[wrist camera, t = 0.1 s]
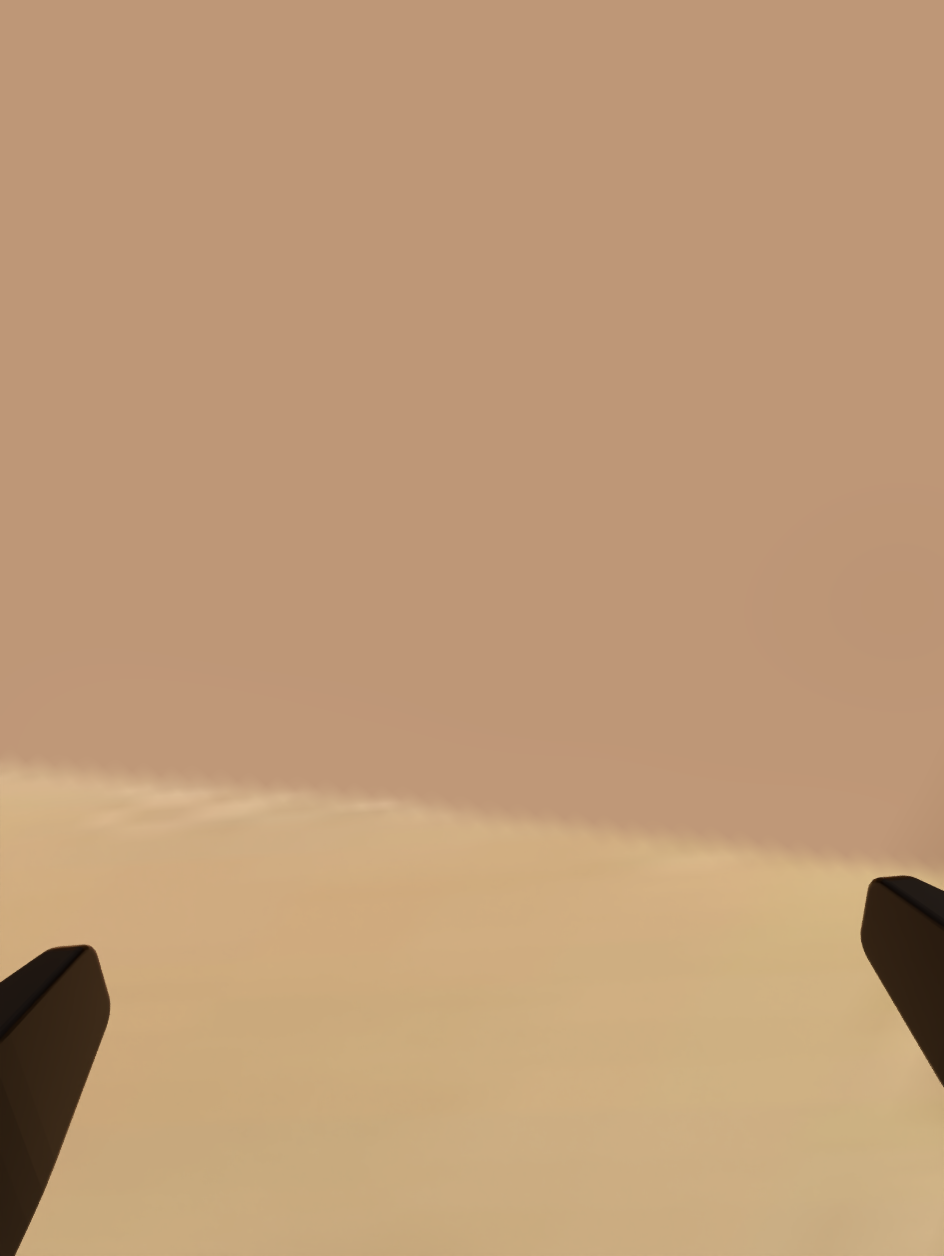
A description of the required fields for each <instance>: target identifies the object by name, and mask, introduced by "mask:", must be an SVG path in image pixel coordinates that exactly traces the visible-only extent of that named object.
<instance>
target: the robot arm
mask: <svg viewBox="0 0 944 1256" xmlns="http://www.w3.org/2000/svg"><path fill="white" fill-rule="evenodd" d="M861 942H862V946H863V949H864V952H865V954H866V956H867V958H868V960H869V962H870V963H871V965H872V967H873V969H874V970H875V972H876V974H877V975H878V977H879V979H880V980H881V982H882V984H883V986H884V987H885V989H886V991H887V992H888V994H889V996H890V997H891V999H892V1001H893V1003H894V1004H895V1006H896V1008H897V1009H898V1011H899V1013H900V1015H901V1016H902V1018H903V1020H904V1021H905V1023H906V1025H907V1026H908V1028H909V1030H910V1032H911V1033H912V1035H913V1037H914V1038H915V1040H916V1042H917V1043H918V1045H919V1047H920V1049H921V1050H922V1052H923V1054H924V1055H925V1057H926V1059H927V1060H928V1062H929V1064H930V1066H931V1067H932V1069H933V1071H934V1072H935V1074H936V1076H937V1077H938V1079H939V1081H940V1082H941V1084H942V1085H943V1087H944V891H943V890H941V889H938V888H936V887H934V886H932V885H930V884H928V883H925V882H923V881H921V880H919V879H917V878H914V877H911V876H891V877H879V878H876V879H874V880H873V881H872V882H871V883H870V884H869V887H868V891H867V897H866V903H865V909H864V914H863V920H862V926H861ZM109 1015H110V998H109V994H108V991H107V987H106V984H105V980H104V977H103V973H102V970H101V966H100V963H99V959H98V956H97V953H96V951H95V950H94V949H93V948H92V947H91V946H89V945H72V946H60V947H55V948H51V949H49V950H47V951H45V952H43V953H42V954H40V955H39V956H38V957H36V958H35V959H33V960H32V961H30V962H29V963H28V964H26V965H25V966H23V967H22V968H20V969H19V970H17V971H16V972H15V973H13V974H12V975H10V976H9V977H7V978H6V979H4V980H3V981H2V982H0V1256H15V1254H16V1252H17V1250H18V1248H19V1246H20V1244H21V1241H22V1239H23V1237H24V1235H25V1233H26V1231H27V1229H28V1226H29V1224H30V1222H31V1220H32V1218H33V1215H34V1213H35V1211H36V1209H37V1206H38V1204H39V1202H40V1200H41V1197H42V1195H43V1193H44V1191H45V1188H46V1186H47V1183H48V1181H49V1178H50V1176H51V1173H52V1171H53V1168H54V1166H55V1163H56V1161H57V1158H58V1155H59V1153H60V1150H61V1147H62V1144H63V1142H64V1139H65V1136H66V1134H67V1131H68V1128H69V1126H70V1123H71V1120H72V1118H73V1115H74V1112H75V1110H76V1107H77V1104H78V1102H79V1099H80V1096H81V1094H82V1091H83V1088H84V1086H85V1083H86V1080H87V1078H88V1075H89V1072H90V1070H91V1067H92V1064H93V1062H94V1059H95V1056H96V1054H97V1051H98V1048H99V1046H100V1043H101V1040H102V1038H103V1035H104V1032H105V1030H106V1027H107V1024H108V1020H109Z"/></svg>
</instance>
